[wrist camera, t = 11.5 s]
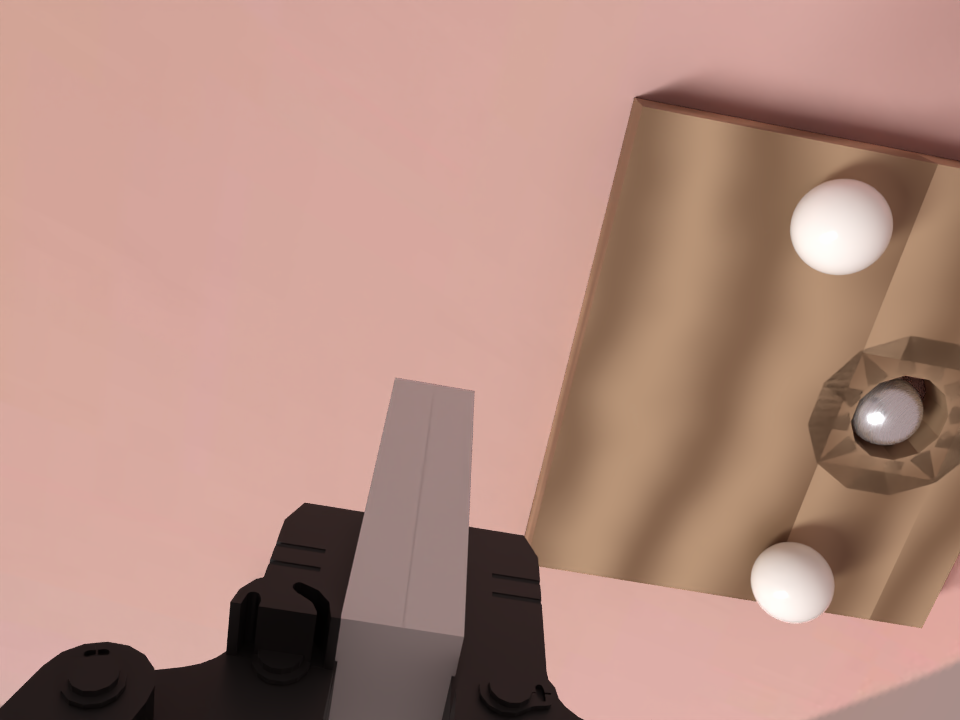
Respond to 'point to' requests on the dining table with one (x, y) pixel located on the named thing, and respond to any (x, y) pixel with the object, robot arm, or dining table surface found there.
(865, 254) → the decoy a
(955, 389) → the board
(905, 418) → the steel ball
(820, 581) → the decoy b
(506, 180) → the dining table surface
